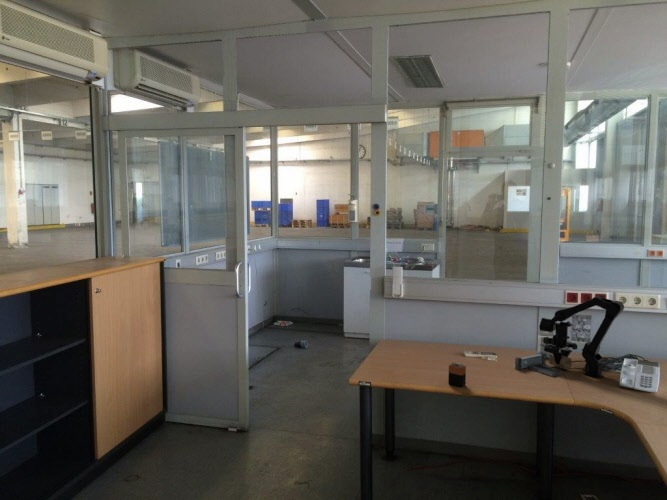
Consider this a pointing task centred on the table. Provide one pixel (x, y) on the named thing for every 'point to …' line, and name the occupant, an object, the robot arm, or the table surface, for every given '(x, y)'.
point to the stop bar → (561, 362)
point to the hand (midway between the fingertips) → (560, 363)
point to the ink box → (541, 343)
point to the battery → (457, 374)
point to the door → (531, 360)
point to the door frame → (518, 361)
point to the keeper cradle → (545, 370)
